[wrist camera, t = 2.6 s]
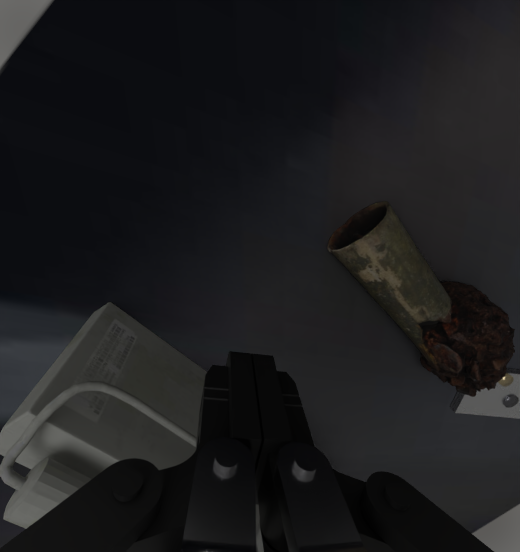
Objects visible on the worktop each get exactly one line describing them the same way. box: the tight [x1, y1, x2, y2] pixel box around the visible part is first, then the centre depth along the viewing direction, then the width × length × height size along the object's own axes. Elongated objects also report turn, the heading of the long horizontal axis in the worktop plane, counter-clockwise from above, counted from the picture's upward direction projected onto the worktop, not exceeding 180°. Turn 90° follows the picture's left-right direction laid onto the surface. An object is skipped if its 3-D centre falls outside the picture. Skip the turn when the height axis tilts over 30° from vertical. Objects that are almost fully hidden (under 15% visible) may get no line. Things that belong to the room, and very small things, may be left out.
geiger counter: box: [0, 302, 260, 552], centre depth 22 cm, size 14×6×25 cm
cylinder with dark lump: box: [327, 201, 515, 397], centre depth 24 cm, size 18×7×6 cm, turn 41°
